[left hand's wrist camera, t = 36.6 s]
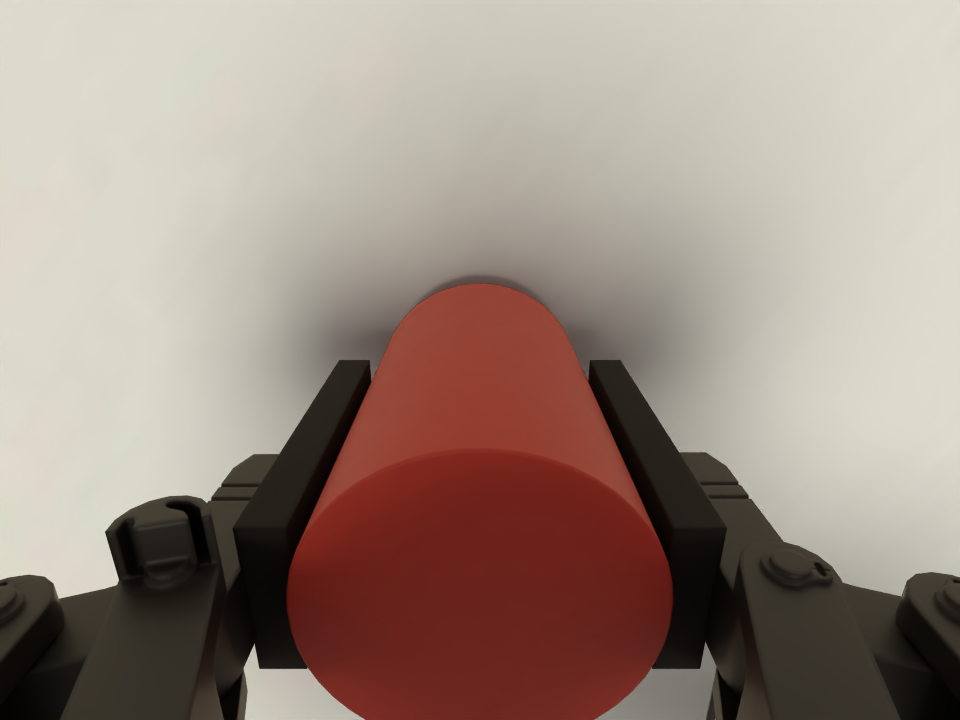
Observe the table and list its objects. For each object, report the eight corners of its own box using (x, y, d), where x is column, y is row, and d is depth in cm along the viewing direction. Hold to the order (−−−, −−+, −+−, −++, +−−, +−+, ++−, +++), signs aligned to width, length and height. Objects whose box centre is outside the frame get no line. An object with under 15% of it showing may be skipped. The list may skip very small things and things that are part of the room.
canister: (458, 490, 18) (439, 794, 9) (344, 355, 16) (201, 580, 8) (611, 398, 16) (741, 653, 8) (505, 242, 15) (536, 369, 7)
